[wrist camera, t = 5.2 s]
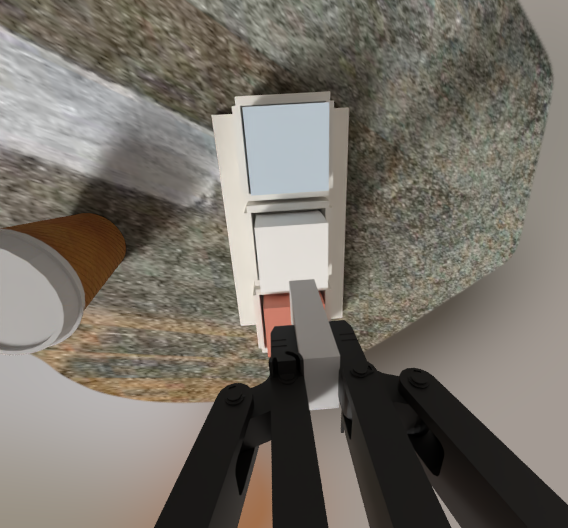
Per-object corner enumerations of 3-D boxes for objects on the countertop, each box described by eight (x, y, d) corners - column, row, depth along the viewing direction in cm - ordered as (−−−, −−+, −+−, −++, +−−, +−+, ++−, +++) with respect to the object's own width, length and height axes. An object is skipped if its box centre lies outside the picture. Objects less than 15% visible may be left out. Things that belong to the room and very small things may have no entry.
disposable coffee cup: (135, 199, 28) (51, 237, 17) (147, 285, 32) (84, 361, 21) (32, 193, 27) (-124, 229, 16) (57, 281, 31) (-57, 359, 20)
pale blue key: (246, 112, 22) (242, 107, 18) (319, 108, 22) (329, 102, 18) (253, 187, 24) (251, 195, 20) (319, 182, 24) (328, 190, 21)
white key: (256, 214, 25) (254, 227, 21) (319, 210, 25) (328, 222, 22) (261, 272, 27) (260, 292, 24) (319, 268, 28) (327, 287, 24)
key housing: (212, 105, 25) (200, 98, 21) (346, 98, 26) (363, 89, 21) (242, 326, 35) (238, 354, 30) (340, 318, 35) (351, 345, 31)
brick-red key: (263, 287, 30) (263, 308, 26) (317, 283, 30) (324, 304, 26) (268, 332, 32) (268, 357, 28) (318, 328, 32) (324, 352, 28)
